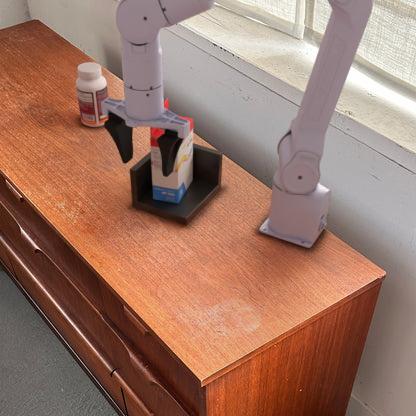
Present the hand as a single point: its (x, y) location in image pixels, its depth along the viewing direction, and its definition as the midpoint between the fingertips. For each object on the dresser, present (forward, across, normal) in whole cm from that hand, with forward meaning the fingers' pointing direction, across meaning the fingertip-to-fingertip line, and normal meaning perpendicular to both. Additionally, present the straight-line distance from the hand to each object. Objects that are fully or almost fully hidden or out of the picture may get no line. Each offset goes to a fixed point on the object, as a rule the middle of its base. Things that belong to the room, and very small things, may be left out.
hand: (147, 167), depth 101 cm
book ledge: (+10, 0, +8) cm, 13 cm away
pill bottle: (+11, -29, +24) cm, 39 cm away
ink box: (+9, 0, +8) cm, 12 cm away
